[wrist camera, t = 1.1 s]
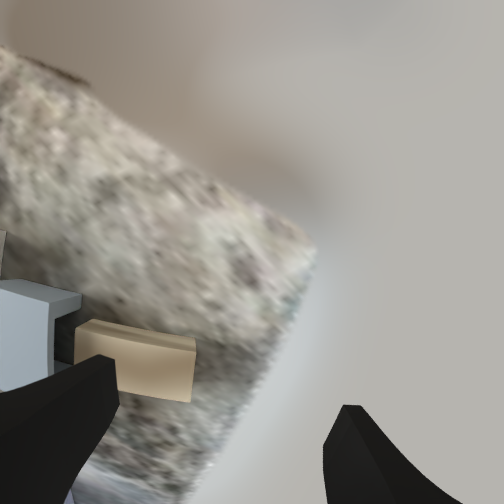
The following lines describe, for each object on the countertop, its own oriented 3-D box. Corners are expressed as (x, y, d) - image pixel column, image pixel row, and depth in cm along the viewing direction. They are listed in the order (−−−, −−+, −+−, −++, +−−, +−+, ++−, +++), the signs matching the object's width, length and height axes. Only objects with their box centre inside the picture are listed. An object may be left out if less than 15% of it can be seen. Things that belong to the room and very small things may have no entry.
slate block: (78, 379, 19) (50, 409, 13) (18, 359, 18) (-18, 381, 12) (82, 294, 20) (48, 303, 14) (21, 278, 18) (-21, 281, 13)
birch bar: (189, 380, 21) (190, 402, 17) (90, 361, 20) (74, 378, 16) (195, 337, 21) (196, 352, 18) (93, 318, 20) (75, 328, 16)
